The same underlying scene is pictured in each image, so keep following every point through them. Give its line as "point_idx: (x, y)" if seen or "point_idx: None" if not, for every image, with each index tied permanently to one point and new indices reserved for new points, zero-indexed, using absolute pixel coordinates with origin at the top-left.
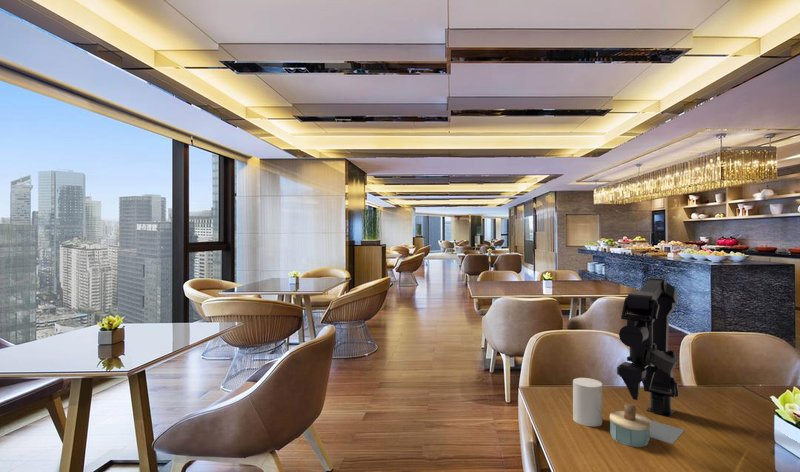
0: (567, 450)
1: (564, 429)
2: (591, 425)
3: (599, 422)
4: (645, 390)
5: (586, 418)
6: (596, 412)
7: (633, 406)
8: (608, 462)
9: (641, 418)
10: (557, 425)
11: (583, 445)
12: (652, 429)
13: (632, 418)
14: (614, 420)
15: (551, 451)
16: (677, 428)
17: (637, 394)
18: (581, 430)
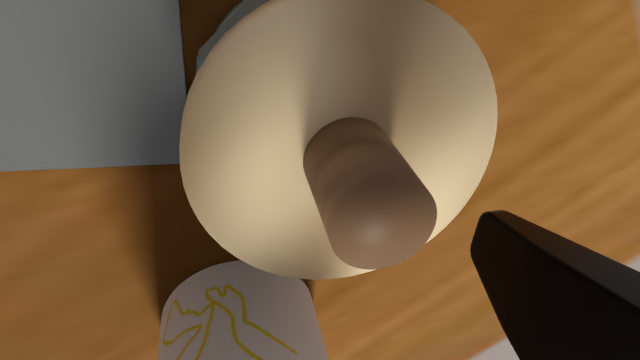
0: (592, 232)
1: (403, 325)
2: (300, 285)
3: (258, 278)
4: None
5: (319, 328)
6: (292, 333)
7: (379, 198)
8: (637, 75)
9: (276, 91)
10: (382, 356)
11: (516, 215)
12: (5, 25)
13: (387, 137)
14: (457, 212)
15: (623, 260)
16: None
17: (596, 255)
18: (365, 286)
